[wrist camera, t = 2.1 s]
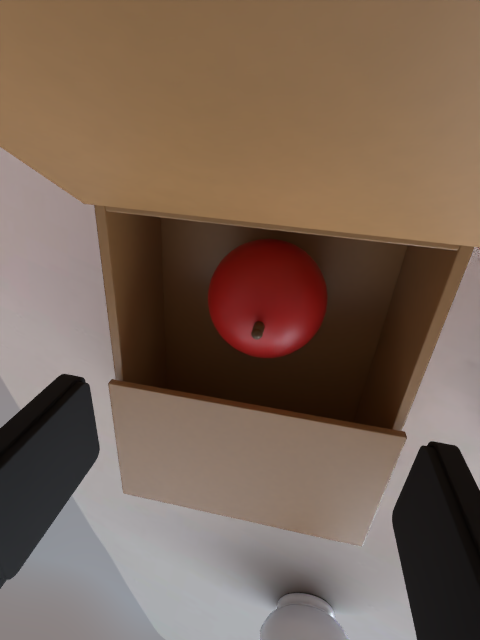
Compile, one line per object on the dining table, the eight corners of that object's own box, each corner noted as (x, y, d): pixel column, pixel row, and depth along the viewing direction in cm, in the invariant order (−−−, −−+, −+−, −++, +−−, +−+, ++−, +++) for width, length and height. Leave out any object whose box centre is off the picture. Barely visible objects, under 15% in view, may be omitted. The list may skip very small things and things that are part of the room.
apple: (225, 221, 20) (185, 256, 13) (334, 233, 19) (346, 277, 13) (220, 316, 23) (186, 382, 16) (315, 330, 22) (317, 405, 16)
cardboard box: (154, 182, 20) (81, 200, 14) (425, 209, 18) (488, 244, 12) (164, 415, 28) (122, 494, 22) (350, 450, 26) (362, 548, 20)
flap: (83, 204, 14) (85, 194, 14) (484, 248, 12) (486, 236, 12) (-272, -38, 5) (-268, -65, 5) (1080, -18, 3) (1083, -62, 3)
